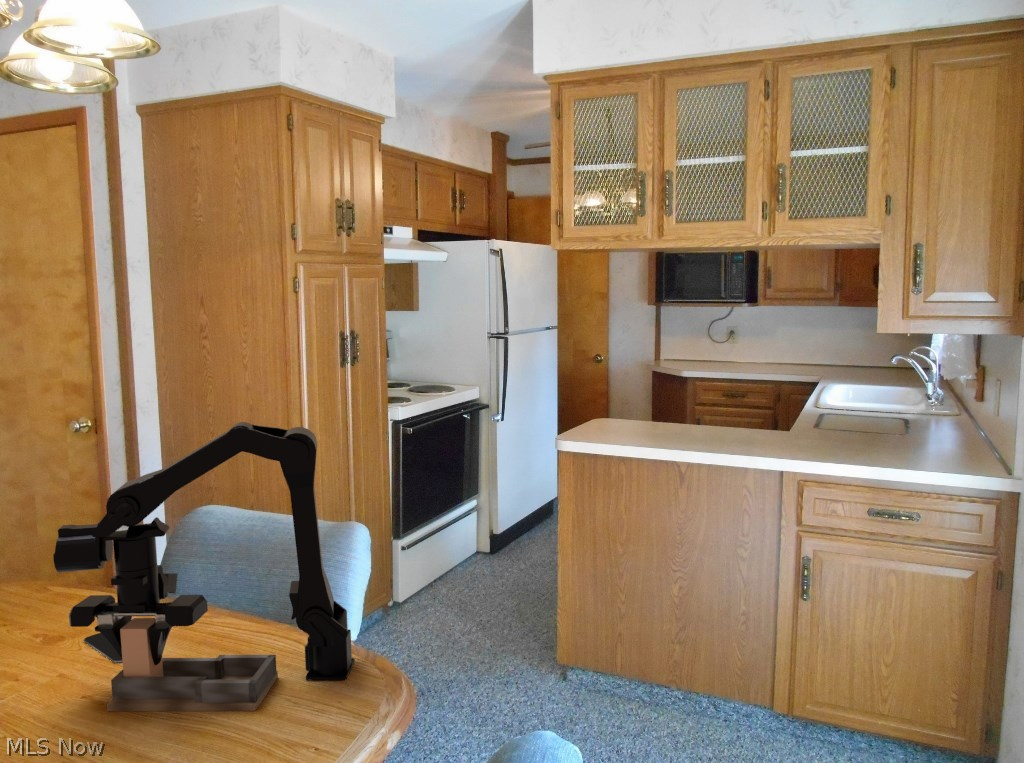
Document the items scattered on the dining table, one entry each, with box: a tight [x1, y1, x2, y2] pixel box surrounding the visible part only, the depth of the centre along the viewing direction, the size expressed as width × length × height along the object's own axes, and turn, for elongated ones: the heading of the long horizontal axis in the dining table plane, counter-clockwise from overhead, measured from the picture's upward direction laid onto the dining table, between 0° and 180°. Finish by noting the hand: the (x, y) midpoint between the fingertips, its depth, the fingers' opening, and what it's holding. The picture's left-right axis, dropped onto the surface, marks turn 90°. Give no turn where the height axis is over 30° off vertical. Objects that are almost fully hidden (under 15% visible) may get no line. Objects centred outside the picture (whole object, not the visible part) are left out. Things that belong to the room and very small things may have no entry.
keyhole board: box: [106, 654, 279, 712], centre depth 116 cm, size 22×10×4 cm, turn 89°
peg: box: [120, 617, 164, 677], centre depth 116 cm, size 4×4×10 cm
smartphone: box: [83, 632, 123, 664], centre depth 134 cm, size 8×1×15 cm
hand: (143, 663), depth 116 cm, fingers closed on peg, 4 cm apart
